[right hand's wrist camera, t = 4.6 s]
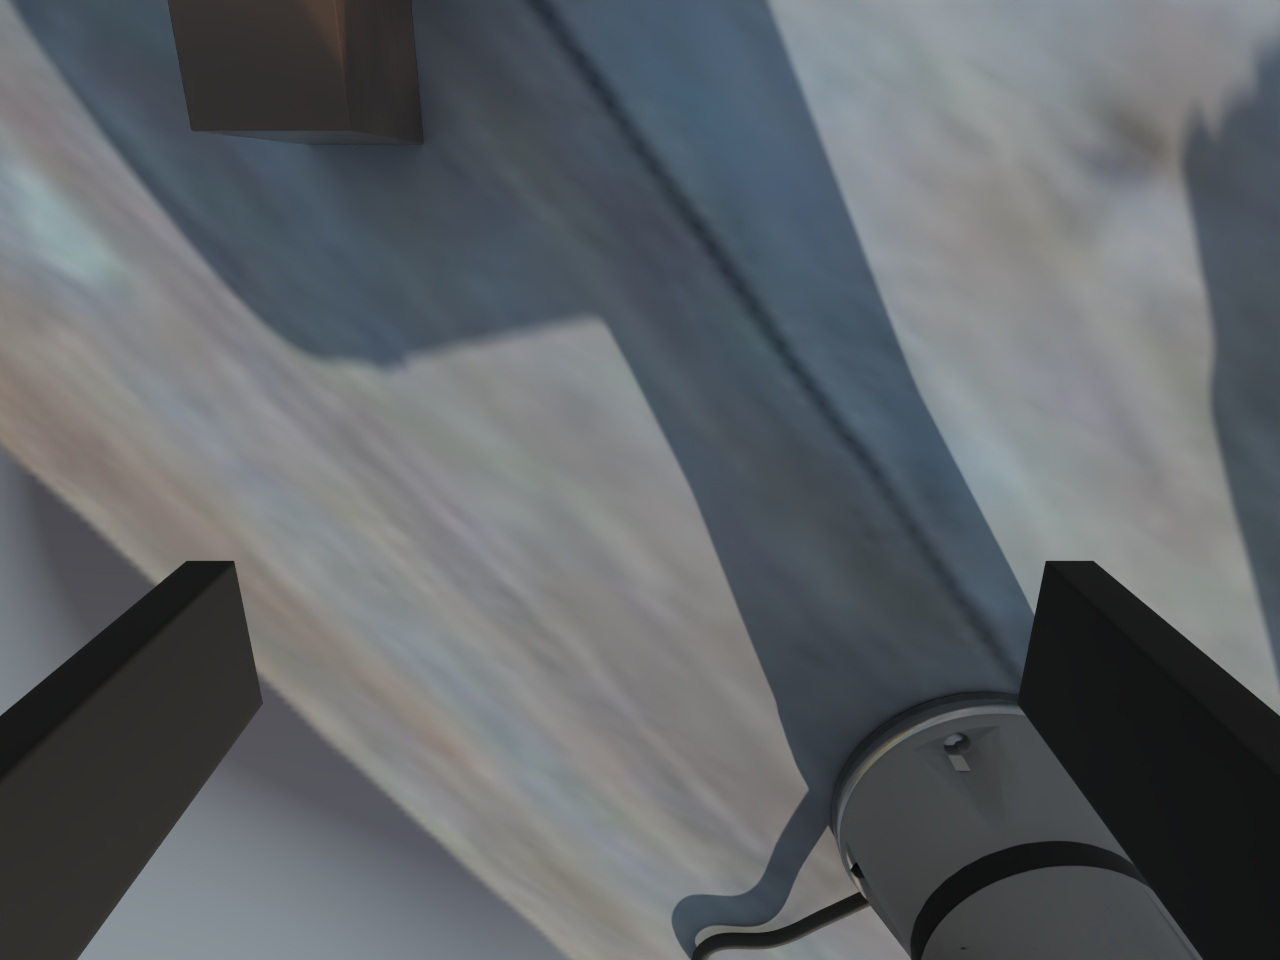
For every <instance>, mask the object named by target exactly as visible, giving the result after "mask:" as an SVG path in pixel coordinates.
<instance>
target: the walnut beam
mask: <svg viewBox="0 0 1280 960" xmlns="http://www.w3.org/2000/svg"><path fill="white" fill-rule="evenodd" d="M168 4H169V10H170V15H171V21H172V26H173V32H174V37H175V43H176V48H177V53H178V59H179V64H180V70H181V75H182V81H183V86H184V92H185V97H186V103H187V108H188V113H189V119H190V124H191V129H192V131H198V132H206V133H215V134H223V135H232V136H240V137H249V138H257V139H266V140H274V141H283V142H291V143H299V144H423V143H424V142H423V131H422V120H421V109H420V97H419V86H418V75H417V64H416V52H415V41H414V30H413V19H412V8H411V0H168Z"/></svg>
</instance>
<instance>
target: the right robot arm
mask: <svg viewBox="0 0 1280 960" xmlns="http://www.w3.org/2000/svg"><path fill="white" fill-rule="evenodd" d="M262 704H263V702H262V697H261V692H260V687H259V682H258V677H257V672H256V667H255V662H254V657H253V652H252V647H251V642H250V637H249V633H248V628H247V623H246V618H245V613H244V608H243V603H242V598H241V593H240V588H239V583H238V578H237V573H236V568H235V563H234V561H186V562H185V563H184V564H182V565H181V566H180V567H179V568H178V569H176V570H175V571H174V572H173V573H172V574H170V575H169V576H168V577H167V578H166V579H164V580H163V581H162V582H161V583H160V584H158V585H157V586H156V587H155V588H154V589H152V590H151V591H150V592H149V593H148V594H146V595H145V596H144V597H143V598H142V599H140V600H139V601H138V602H137V603H136V604H134V605H133V606H132V607H131V608H130V609H128V610H127V611H126V612H125V613H124V614H122V615H121V616H120V617H119V618H118V619H116V620H115V621H114V622H113V623H112V624H110V625H109V626H108V627H107V628H106V629H104V630H103V631H102V632H101V633H100V634H98V635H97V636H96V637H95V638H94V639H92V640H91V641H90V642H89V643H88V644H86V645H85V646H84V647H83V648H82V649H80V650H79V651H78V652H77V653H76V654H74V655H73V656H72V657H71V658H70V659H68V660H67V661H66V662H65V663H64V664H62V665H61V666H60V667H59V668H57V669H56V670H55V671H54V672H53V673H51V674H50V675H49V676H48V677H47V678H46V679H44V680H43V681H42V682H41V683H40V684H38V685H37V686H36V687H35V688H33V689H32V690H31V691H30V692H29V693H27V694H26V695H25V696H24V697H23V698H21V699H20V700H19V701H18V702H17V703H15V704H14V705H13V706H12V707H11V708H9V709H8V710H7V711H6V712H5V713H3V714H2V715H1V716H0V960H77V959H78V957H79V956H80V955H81V953H82V952H83V951H84V949H85V948H86V947H87V945H88V944H89V942H90V941H91V940H92V938H93V937H94V935H95V934H96V933H97V931H98V930H99V929H100V927H101V926H102V924H103V923H104V922H105V920H106V919H107V918H108V916H109V915H110V913H111V912H112V911H113V909H114V908H115V907H116V905H117V904H118V902H119V901H120V900H121V898H122V897H123V896H124V894H125V893H126V891H127V890H128V889H129V887H130V886H131V884H132V883H133V882H134V880H135V879H136V878H137V876H138V875H139V873H140V872H141V871H142V869H143V868H144V867H145V865H146V864H147V862H148V861H149V860H150V858H151V857H152V856H153V854H154V853H155V851H156V850H157V849H158V847H159V846H160V845H161V843H162V842H163V840H164V839H165V838H166V836H167V835H168V834H169V832H170V831H171V829H172V828H173V827H174V825H175V824H176V822H177V821H178V820H179V818H180V817H181V816H182V814H183V813H184V811H185V810H186V809H187V807H188V806H189V805H190V803H191V802H192V800H193V799H194V798H195V796H196V795H197V794H198V792H199V791H200V789H201V788H202V787H203V785H204V784H205V783H206V781H207V780H208V778H209V777H210V776H211V774H212V773H213V772H214V770H215V769H216V767H217V766H218V765H219V763H220V762H221V760H222V759H223V758H224V756H225V755H226V754H227V752H228V751H229V749H230V748H231V747H232V745H233V744H234V743H235V741H236V740H237V738H238V737H239V736H240V734H241V733H242V732H243V730H244V729H245V727H246V726H247V725H248V723H249V722H250V721H251V719H252V718H253V716H254V715H255V714H256V712H257V711H258V709H259V708H260V707H261V705H262ZM831 817H832V826H833V831H834V835H835V838H836V842H837V845H838V848H839V852H840V855H841V859H842V862H843V865H844V867H845V869H846V872H847V873H848V875H849V877H850V879H851V880H852V882H853V883H854V884H855V886H856V887H857V888H858V890H859V891H860V892H858V893H856V894H854V895H852V896H850V897H848V898H845V899H843V900H841V901H839V902H837V903H835V904H833V905H831V906H828V907H826V908H824V909H822V910H820V911H818V912H816V913H813V914H811V915H810V916H808V917H806V918H804V919H802V920H800V921H798V922H796V923H794V924H791V925H789V926H786V927H784V928H781V929H778V930H774V931H770V932H763V933H721V934H716V935H713V936H711V937H709V938H707V939H705V940H704V941H703V942H702V943H700V944H699V945H698V947H697V948H696V950H695V951H694V953H693V957H692V960H707V959H708V958H709V956H710V955H711V954H713V953H715V952H717V951H720V950H725V949H768V948H774V947H778V946H782V945H785V944H788V943H791V942H793V941H796V940H798V939H800V938H802V937H804V936H806V935H808V934H810V933H812V932H814V931H816V930H818V929H821V928H823V927H825V926H827V925H829V924H832V923H834V922H836V921H838V920H840V919H843V918H845V917H847V916H849V915H851V914H853V913H856V912H858V911H860V910H862V909H864V908H866V907H868V906H871V907H872V908H873V909H874V911H875V912H876V913H877V915H878V916H879V917H880V918H881V920H882V921H883V922H884V924H885V925H886V926H887V928H888V929H889V930H890V932H891V933H892V934H893V935H894V937H895V938H896V939H897V941H898V942H899V943H900V945H901V946H902V947H903V949H904V950H905V951H906V952H907V954H908V955H909V956H910V958H911V960H1280V716H1279V715H1278V714H1277V713H1275V712H1274V711H1273V710H1272V709H1271V708H1269V707H1268V706H1267V705H1266V704H1265V703H1263V702H1262V701H1261V700H1260V699H1259V698H1257V697H1256V696H1255V695H1254V694H1253V693H1251V692H1250V691H1249V690H1248V689H1247V688H1245V687H1244V686H1243V685H1242V684H1241V683H1239V682H1238V681H1237V680H1236V679H1235V678H1233V677H1232V676H1231V675H1230V674H1229V673H1227V672H1226V671H1225V670H1224V669H1223V668H1221V667H1220V666H1219V665H1218V664H1216V663H1215V662H1214V661H1213V660H1212V659H1210V658H1209V657H1208V656H1207V655H1206V654H1204V653H1203V652H1202V651H1201V650H1200V649H1198V648H1197V647H1196V646H1195V645H1194V644H1192V643H1191V642H1190V641H1189V640H1188V639H1186V638H1185V637H1184V636H1183V635H1182V634H1180V633H1179V632H1178V631H1177V630H1176V629H1174V628H1173V627H1172V626H1171V625H1170V624H1168V623H1167V622H1166V621H1165V620H1164V619H1162V618H1161V617H1160V616H1159V615H1158V614H1156V613H1155V612H1154V611H1153V610H1152V609H1150V608H1149V607H1148V606H1147V605H1146V604H1144V603H1143V602H1142V601H1141V600H1140V599H1138V598H1137V597H1136V596H1135V595H1134V594H1132V593H1131V592H1130V591H1129V590H1128V589H1126V588H1125V587H1124V586H1123V585H1122V584H1120V583H1119V582H1118V581H1117V580H1116V579H1114V578H1113V577H1112V576H1111V575H1110V574H1108V573H1107V572H1106V571H1105V570H1104V569H1102V568H1101V567H1100V566H1099V565H1098V564H1096V563H1095V562H1094V561H1046V563H1045V568H1044V573H1043V578H1042V583H1041V588H1040V593H1039V598H1038V603H1037V608H1036V613H1035V618H1034V623H1033V628H1032V632H1031V637H1030V642H1029V647H1028V652H1027V657H1026V662H1025V667H1024V672H1023V677H1022V682H1021V687H1020V692H1019V696H1017V695H1011V694H1005V693H993V692H977V693H965V694H958V695H952V696H947V697H943V698H939V699H935V700H933V701H930V702H927V703H924V704H921V705H919V706H916V707H914V708H911V709H909V710H907V711H905V712H903V713H901V714H900V715H898V716H896V717H894V718H893V719H891V720H890V721H888V722H886V723H885V724H884V725H882V726H881V727H880V728H878V729H877V730H876V731H874V732H873V733H872V734H871V735H870V736H869V737H868V738H867V739H866V740H865V741H864V742H863V743H862V744H861V745H860V746H859V747H858V748H857V749H856V751H855V752H854V753H853V755H852V756H851V757H850V758H849V760H848V762H847V763H846V765H845V767H844V768H843V770H842V772H841V774H840V776H839V778H838V781H837V784H836V787H835V790H834V795H833V799H832V808H831Z"/></svg>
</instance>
